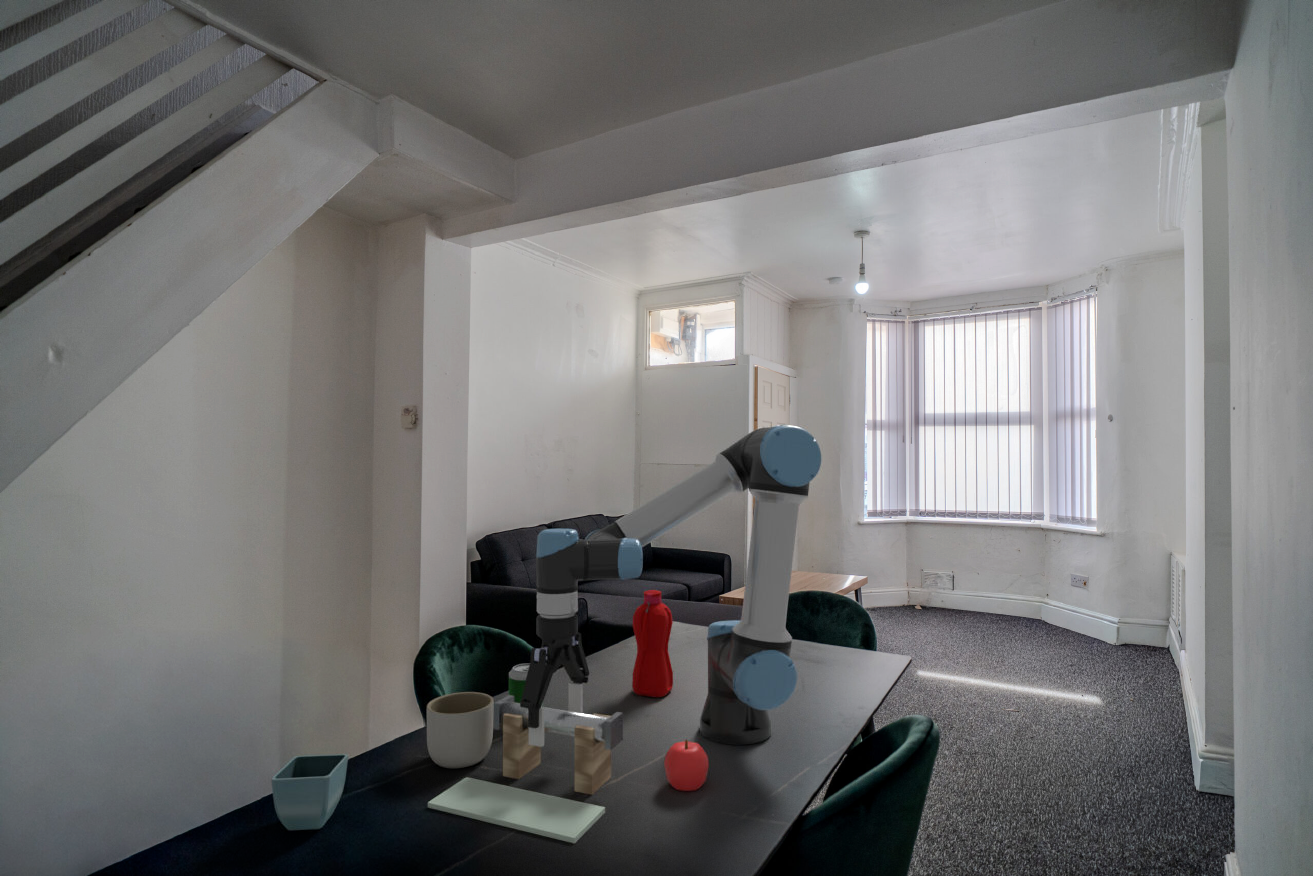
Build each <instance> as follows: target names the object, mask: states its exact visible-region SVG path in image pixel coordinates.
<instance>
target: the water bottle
mask: <svg viewBox="0 0 1313 876" xmlns="http://www.w3.org/2000/svg"><path fill="white" fill-rule="evenodd" d="M673 623H674V621H673V615H672V611H671V609H670V608H669V606H667V605H666V604H665V603H663V602H662V591H660V590H656V589H650V590H645V591H644V592H643V603H641V605H640V606H638V607H637V608H636V609H635V611H634V613H633V616H632V629H633V634H634V638H635V642H636V652H637V653H636V656H635V660H634V666H633V671H632V682H631V683H632V684H631V687H632V688H631V689H632V691H633V692H634V693H635V694H636V695H637V696H643V697H651V698H662V697H665V696H667V695H668V693H669V692H671V691H672V690H673V685H674V673H673V668H672V663H671V662H672V661H671V658H670V652H669V642H670V637H671V633H672V627H673Z"/></svg>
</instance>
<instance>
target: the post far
mask: <svg viewBox="0 0 1313 876" xmlns="http://www.w3.org/2000/svg"><path fill="white" fill-rule="evenodd" d="M541 748H542V747H540V746H534V745H529V728H524V727H522V716H520V715H514V714H508V713H506V714H504V715H503V728H502V777H506V778H510V779H515V780H520V779H521V778H523V777H525V776H526V775H527V774H528V773H530V772H531V771H532V770H534V769H535V768H536V767H538V766H539V765H541V764H542V763H541V762H542V761H541V759H542V758H541V757H542V754H541V753H542V749H541Z"/></svg>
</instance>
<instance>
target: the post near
mask: <svg viewBox="0 0 1313 876" xmlns="http://www.w3.org/2000/svg"><path fill="white" fill-rule="evenodd" d="M592 715H596V716H603V717H611V716H612V715H607V714H601V713H592ZM610 779H612V750H606V749H605V742H604V741H598V740H595V728H591V727H585V726H579V725H577V726H576V727H575V736H574V792H577V793H583V794H586V795H590V796H591V795H592V796H593V795H594V794H595V793H596V792H597V791H598V790H599V789H600V788H601V787H602V786H603V785H605V783H607V782H608V781H609V780H610Z"/></svg>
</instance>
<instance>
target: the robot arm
mask: <svg viewBox="0 0 1313 876" xmlns="http://www.w3.org/2000/svg"><path fill="white" fill-rule="evenodd" d="M821 465H822V452H821V448H820V445H819V443H818V441H817V440H816V438H815V437H814V436H813V435H812V434H811V433H810V432H809V431H808V430H806V429H805V428H802V427H800V426H796V425H790V424H777V425H776V426H770V427H762V428H757V429H754V430H753V431H750V432H749V433H748V434H746V435H744V436H743V437H741V439H739V440H738V441H737V440H736V442H734V443H733V444H731V445H730V446H729V447H726V448H725V449H723V451H721V452H719V453H718V454H716V456H715V459H714V462H712V463H709V464H708V465H707V466H704V467H703V468H702V469H700V470H699V471H696V472H695V473H693V474H691V475H690V476H689V477H687V478H685V479H683V480H682V481H679V482H678V483H676V484H675V485H674V486H672V487H670V488H669V489H667V490H665V491H663V492H662V493H660V494H658V495H657V496H655V497H653V498H651V499H649V500H648V501H647V502H645V503H643V504H641V505H640V506H638V507H637V508H635V509H633V510H631V511H629V512H627V514H625V515H623V516H622V517H620V518H619V519H617V520H615V521H614V522H612V523H610V524H608V525H606V526H605V527H603V528H602V529H595V530H594V531H591V532H590V533H589V534H588V535H587V536H586V537H585V539H582V538H581V539H580V537H579V533H578V531H577V529H573V528H547V529H543V530H541V531H540V532H539V533H538V535H537V539H536V540H537V541H536V555H535V556H536V561H535V562H536V612H537V614H538V615H537V616H536V626H535V627H536V628H535V629H536V635H537V637H538V638H540V639H541V640H542V641H541V642H542V643H541V647H540V648H537V647H532V648H531V651H530V662H529V664H530V665H529V669H528V673H527V677H526V682H525V686H524V690H523V694H522V698H521V702H520V707H523V708H528V721H529V722H528V726H529V745H534V746H540V747H541V748H542V747H544V746H545V731H544V707H545V706H543V707H541V706H542V703H543V704H544V700H545V698H546V694H547V693H548V689H549V686H550V683H551V680H552V678H553V675H554V674H555V673H556V672H558V668H560V667H561V666H562V667H563V669H564V670H565V672H566V674H567V676H568V677H569V679H570V682H568V692H567V693H568V697H567V698H568V700H567V701H568V704H567V705H568V710H567V711H572V712H578V713H584V711H583V709H584V707H583V706H584V704H583V702H584V700H583V698H584V697H583V696H584V691H583V690H584V688H583V686H584V684H587V683H588V682H589V675H590V669H589V666H588V662H587V658H586V655H585V652H584V647H583V644H582V633H580V632H579V629H578V628H579V625H578V624H579V623H578V621H579V619H578V618H579V616H578V615H577V612H578V610H579V601H578V600H579V599H578V597H579V595H578V590H579V589H578V588H579V587H578V584H579V583H578V582H579V581H595V580H596V581H597V580H598V581H599V580H600V581H601V580H603V581H605V580H606V581H607V580H621V581H625V580H628V579H630V580H631V579H637V578H639V577H640V576H641V575H642V572H643V565H644V564H643V563H644V561H643V560H644V557H643V556H644V554H643V547H645V546H647V545H648V544H650V543H651V542H654V541H655V540H656V539H658V538H660V537H661V536H663V535H665V534H666V533H668V532H670V531H671V530H673V529H674V528H676V527H679V525H681V524H683V523H684V522H686V521H688V520H689V519H691V518H693V517H694V516H696V515H698V514H699V513H700V512H702V511H704V510H706V509H708V508H709V507H710V506H712V505H714V504H716V503H717V502H719V501H720V500H723V499H724V498H725V497H727V496H729V495H730V494H733V493H738V494H741V493H743V492H744V491H746V490H748V492H749V493H750V494H751V496H752V497H753V499H754V508H753V516H752V517H753V518H752V525H751V535H750V542H749V549H748V557H747V558H748V559H747V568H746V576H745V585H744V586H745V587H744V594H743V602H742V610H741V618H740V620H737V619H735V620H721V621H715V622H712V623H711V624H709V626H708V627H707V636H706V641H707V695H706V699H705V702H704V704H703V707H702V708H703V709H702V712H701V715H700V719H699V732H700V733H701V735H703V737H705V738H706V739H708V740H711V741H713V742H717V743H721V744H726V745H739V746H740V745H742V746H743V745H752V744H756V743H762V742H763V741H765V740H767V739H769V738H770V737H771V735H772V720H771V717H770V713H769V711H770V710H775V709H777V708H778V707H781V706H782V705H783V704H785V702H787V701H788V700H789V699H790V698H791V697H792V695H793V694H794V692H795V689H796V688H797V683H798V673H797V668H796V666H795V664H794V662H793V660H792V659H791V652H792V642H793V636H791V634H790V633H789V631H788V630H787V628H786V623H787V615H788V614H787V613H788V606H789V598H790V587H791V581H792V580H791V579H792V571H793V570H792V569H793V561H794V551H795V545H796V544H795V543H796V535H797V534H796V533H797V525H798V517H799V508H800V505H801V504H802V503H803V502H804V501H806V500H807V499H808V498H809V490H810V484H811V483H810V482H811V481H812V480H814V479H815V478H816V476H817V475H818V474H819V471H820V469H821Z"/></svg>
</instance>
